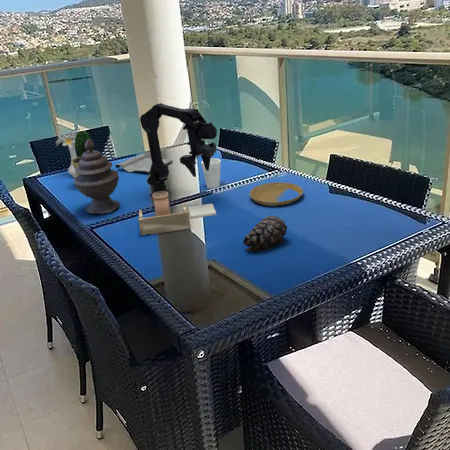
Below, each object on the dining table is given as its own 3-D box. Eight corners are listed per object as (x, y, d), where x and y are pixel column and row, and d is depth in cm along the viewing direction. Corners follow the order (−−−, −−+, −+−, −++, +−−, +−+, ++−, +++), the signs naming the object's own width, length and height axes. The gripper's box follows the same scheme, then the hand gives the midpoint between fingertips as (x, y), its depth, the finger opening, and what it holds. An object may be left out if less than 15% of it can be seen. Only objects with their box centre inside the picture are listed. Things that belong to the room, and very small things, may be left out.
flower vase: (98, 172, 275) (90, 129, 265) (69, 182, 263) (59, 137, 253) (86, 169, 283) (78, 127, 273) (58, 178, 272) (48, 134, 262)
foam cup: (220, 189, 234) (218, 164, 228) (202, 189, 236) (199, 164, 230) (224, 183, 242) (222, 158, 237) (206, 183, 244) (204, 158, 239)
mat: (148, 176, 264) (147, 168, 262) (116, 172, 275) (114, 164, 273) (173, 163, 281) (172, 155, 279) (142, 160, 293) (140, 152, 291)
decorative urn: (109, 196, 236) (95, 128, 219) (133, 207, 223) (120, 136, 206) (73, 211, 224) (55, 140, 207) (95, 224, 211) (79, 150, 194)
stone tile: (188, 209, 214) (188, 206, 214) (212, 205, 216) (212, 203, 215) (191, 218, 205) (190, 216, 204) (216, 214, 206) (216, 212, 206)
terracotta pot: (153, 223, 203) (149, 195, 198) (162, 217, 208) (158, 190, 203) (165, 225, 200) (161, 197, 195) (175, 219, 205) (171, 192, 200)
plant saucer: (267, 213, 204) (267, 205, 203) (240, 196, 224) (239, 190, 222) (313, 199, 213) (313, 192, 212) (283, 185, 233) (283, 178, 232)
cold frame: (140, 218, 209) (137, 203, 206) (185, 212, 212) (184, 197, 209) (141, 235, 193) (138, 219, 190) (190, 228, 195) (188, 212, 192)
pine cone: (239, 250, 175) (237, 225, 170) (270, 232, 186) (269, 209, 182) (261, 258, 168) (260, 232, 164) (292, 239, 179) (291, 215, 175)
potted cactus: (71, 189, 251) (58, 133, 239) (89, 180, 264) (77, 125, 252) (95, 191, 246) (83, 134, 233) (112, 181, 258) (102, 126, 246)
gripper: (196, 144, 196) (202, 181, 202) (222, 133, 209) (228, 168, 215) (175, 144, 202) (182, 179, 208) (203, 133, 216) (208, 167, 222)
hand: (201, 173), depth 213 cm, fingers open, 9 cm apart
